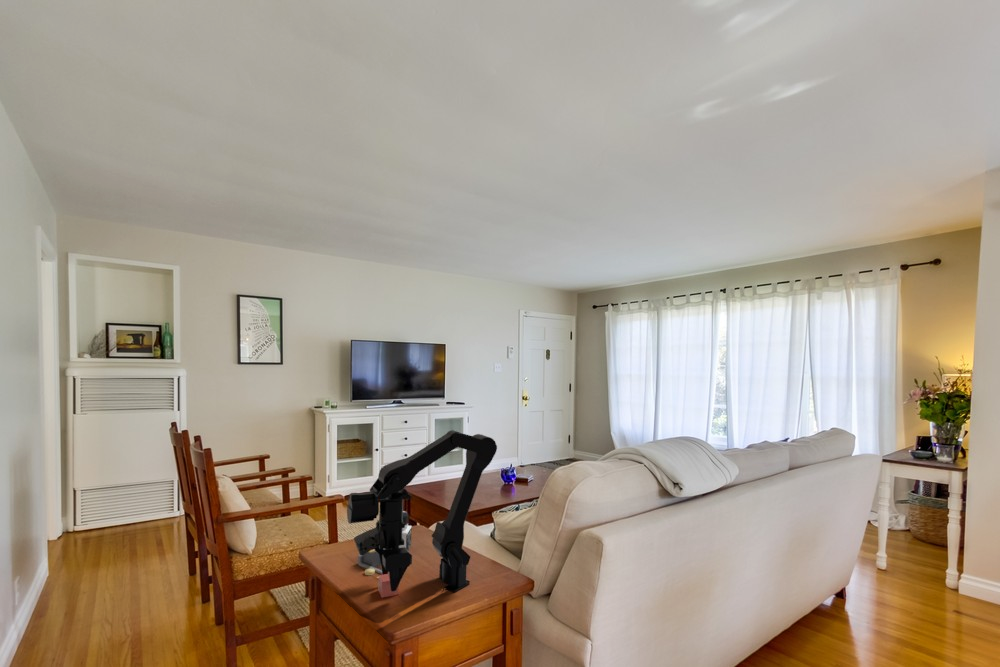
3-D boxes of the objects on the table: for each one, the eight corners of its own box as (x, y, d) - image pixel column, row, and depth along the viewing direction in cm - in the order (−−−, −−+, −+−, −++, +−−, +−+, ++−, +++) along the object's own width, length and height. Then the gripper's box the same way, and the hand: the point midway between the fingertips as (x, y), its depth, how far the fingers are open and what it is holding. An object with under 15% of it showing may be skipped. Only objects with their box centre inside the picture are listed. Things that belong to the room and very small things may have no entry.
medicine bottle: (406, 558, 145) (407, 516, 146) (382, 557, 145) (383, 515, 146) (411, 548, 152) (412, 509, 153) (388, 548, 153) (389, 508, 153)
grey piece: (410, 576, 133) (410, 562, 133) (384, 588, 126) (385, 573, 126) (372, 562, 142) (373, 549, 142) (346, 572, 134) (347, 559, 135)
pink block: (394, 593, 124) (395, 572, 124) (398, 600, 120) (398, 579, 120) (378, 596, 122) (378, 575, 122) (381, 603, 118) (382, 581, 118)
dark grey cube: (382, 563, 138) (383, 548, 138) (372, 567, 135) (373, 552, 135) (372, 560, 140) (373, 545, 140) (362, 564, 137) (363, 549, 137)
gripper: (351, 510, 127) (349, 573, 126) (364, 534, 110) (362, 606, 109) (394, 506, 132) (392, 566, 131) (413, 528, 115) (411, 597, 114)
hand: (389, 582), depth 121 cm, fingers open, 9 cm apart
